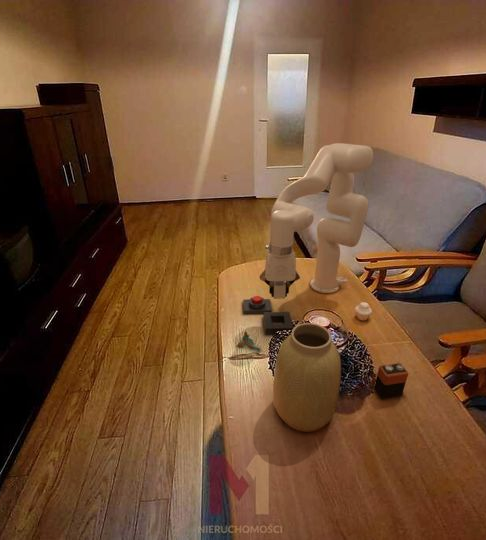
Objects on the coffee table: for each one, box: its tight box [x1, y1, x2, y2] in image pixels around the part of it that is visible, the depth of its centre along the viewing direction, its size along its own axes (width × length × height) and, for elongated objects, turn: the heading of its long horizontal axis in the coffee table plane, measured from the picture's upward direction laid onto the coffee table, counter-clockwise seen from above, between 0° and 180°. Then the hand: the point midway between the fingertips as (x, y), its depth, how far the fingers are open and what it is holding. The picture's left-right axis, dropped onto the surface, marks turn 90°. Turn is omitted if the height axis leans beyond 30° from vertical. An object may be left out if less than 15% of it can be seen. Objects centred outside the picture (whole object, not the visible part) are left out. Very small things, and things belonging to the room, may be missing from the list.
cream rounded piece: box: [354, 301, 373, 321], centre depth 132 cm, size 6×6×7 cm
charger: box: [273, 281, 286, 300], centre depth 122 cm, size 4×4×6 cm
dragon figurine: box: [236, 330, 260, 355], centre depth 120 cm, size 6×7×8 cm
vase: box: [272, 322, 342, 433], centre depth 90 cm, size 17×17×27 cm
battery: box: [373, 362, 409, 399], centre depth 100 cm, size 4×7×10 cm, turn 100°
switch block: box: [242, 296, 273, 315], centre depth 140 cm, size 11×8×4 cm
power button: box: [252, 295, 263, 304], centre depth 139 cm, size 4×4×2 cm
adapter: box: [262, 311, 294, 336], centre depth 129 cm, size 10×10×3 cm
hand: (278, 294), depth 123 cm, fingers closed on charger, 4 cm apart
